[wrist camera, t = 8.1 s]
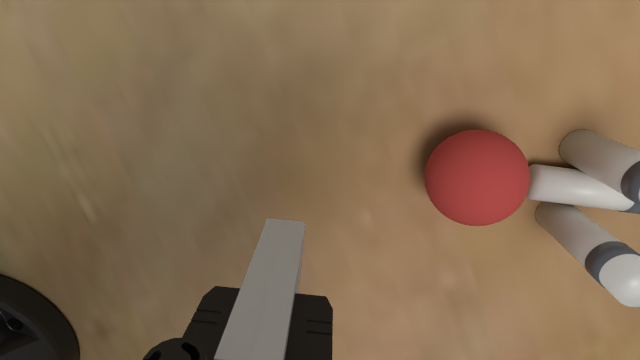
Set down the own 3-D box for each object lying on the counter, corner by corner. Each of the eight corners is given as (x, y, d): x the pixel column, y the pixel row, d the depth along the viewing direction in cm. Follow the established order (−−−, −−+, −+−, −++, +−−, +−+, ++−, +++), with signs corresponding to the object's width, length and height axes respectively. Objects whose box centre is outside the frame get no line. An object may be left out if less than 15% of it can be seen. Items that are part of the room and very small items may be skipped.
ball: (528, 224, 24) (444, 195, 27) (555, 134, 21) (459, 117, 25) (494, 256, 19) (400, 216, 23) (522, 149, 17) (414, 126, 21)
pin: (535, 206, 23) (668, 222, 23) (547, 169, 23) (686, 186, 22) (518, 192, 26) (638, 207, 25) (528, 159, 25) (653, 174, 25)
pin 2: (529, 225, 27) (606, 304, 19) (541, 194, 26) (626, 264, 18) (563, 229, 27) (655, 310, 19) (576, 198, 26) (677, 271, 18)
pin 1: (553, 162, 25) (649, 221, 17) (565, 126, 24) (674, 172, 16) (589, 166, 25) (703, 227, 17) (603, 130, 24) (731, 178, 16)
